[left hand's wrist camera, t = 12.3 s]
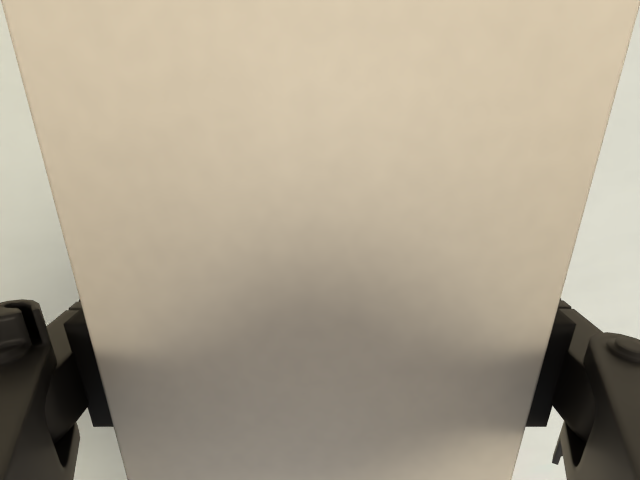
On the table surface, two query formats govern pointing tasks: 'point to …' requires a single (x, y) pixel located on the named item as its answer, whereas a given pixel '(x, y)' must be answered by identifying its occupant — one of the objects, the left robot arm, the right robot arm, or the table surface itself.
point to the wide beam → (320, 219)
